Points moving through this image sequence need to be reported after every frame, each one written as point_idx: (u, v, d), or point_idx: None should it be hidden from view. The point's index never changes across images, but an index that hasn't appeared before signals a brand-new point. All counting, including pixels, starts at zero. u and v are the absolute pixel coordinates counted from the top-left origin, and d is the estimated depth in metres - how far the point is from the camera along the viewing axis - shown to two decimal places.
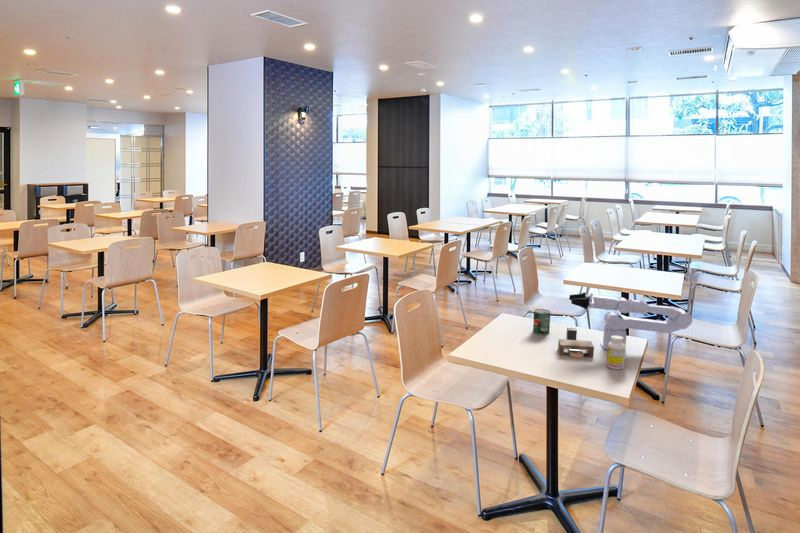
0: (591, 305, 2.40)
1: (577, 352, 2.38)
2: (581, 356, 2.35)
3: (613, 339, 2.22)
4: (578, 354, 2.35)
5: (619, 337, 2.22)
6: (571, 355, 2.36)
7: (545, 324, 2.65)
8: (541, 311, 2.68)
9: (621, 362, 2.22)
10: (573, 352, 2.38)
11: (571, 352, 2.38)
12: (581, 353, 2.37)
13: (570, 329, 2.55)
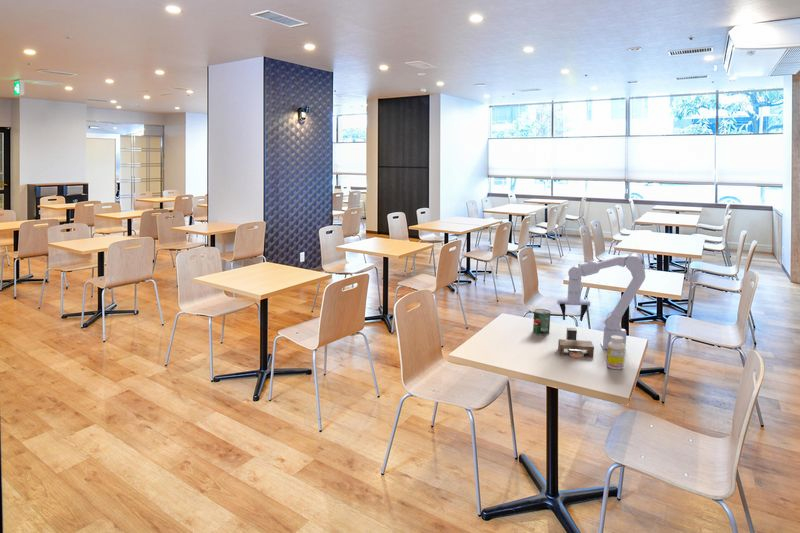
0: (557, 302, 2.54)
1: (577, 352, 2.38)
2: (581, 356, 2.35)
3: (613, 339, 2.22)
4: (578, 354, 2.35)
5: (619, 337, 2.22)
6: (571, 355, 2.36)
7: (545, 324, 2.65)
8: (541, 311, 2.68)
9: (621, 362, 2.22)
10: (573, 352, 2.38)
11: (571, 352, 2.38)
12: (581, 353, 2.37)
13: (570, 329, 2.55)
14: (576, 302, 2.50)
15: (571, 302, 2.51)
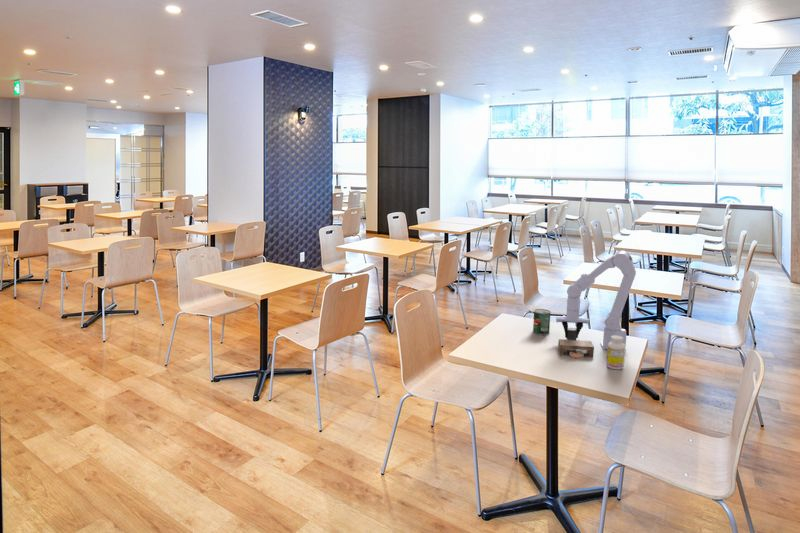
0: (556, 319, 2.56)
1: (577, 352, 2.38)
2: (581, 356, 2.35)
3: (613, 339, 2.22)
4: (578, 354, 2.35)
5: (619, 337, 2.22)
6: (571, 355, 2.36)
7: (545, 324, 2.65)
8: (541, 311, 2.68)
9: (621, 362, 2.22)
10: (573, 352, 2.38)
11: (571, 352, 2.38)
12: (581, 353, 2.37)
13: (570, 329, 2.55)
14: (575, 320, 2.52)
15: (570, 320, 2.52)
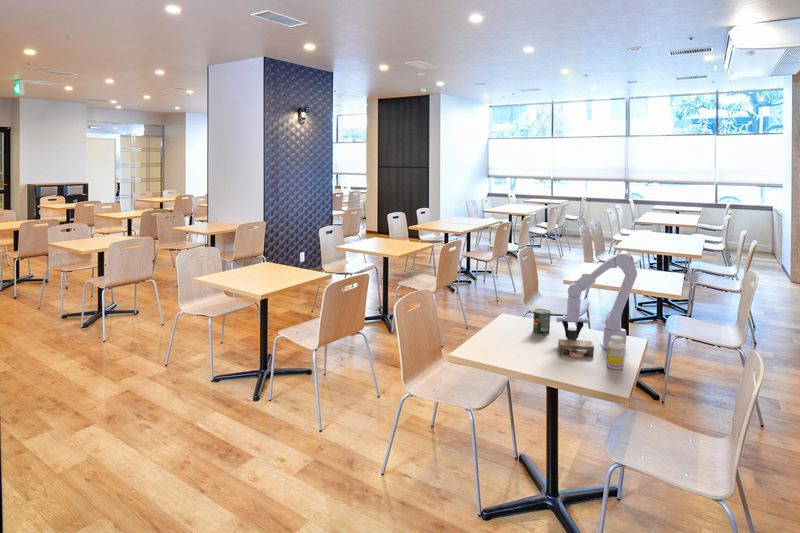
0: (556, 319, 2.55)
1: (577, 352, 2.38)
2: (581, 356, 2.35)
3: (613, 339, 2.22)
4: (578, 354, 2.35)
5: (619, 337, 2.22)
6: (571, 355, 2.36)
7: (545, 324, 2.65)
8: (541, 311, 2.68)
9: (621, 362, 2.22)
10: (573, 352, 2.38)
11: (571, 352, 2.38)
12: (581, 353, 2.37)
13: (570, 329, 2.54)
14: (575, 320, 2.50)
15: (570, 319, 2.51)
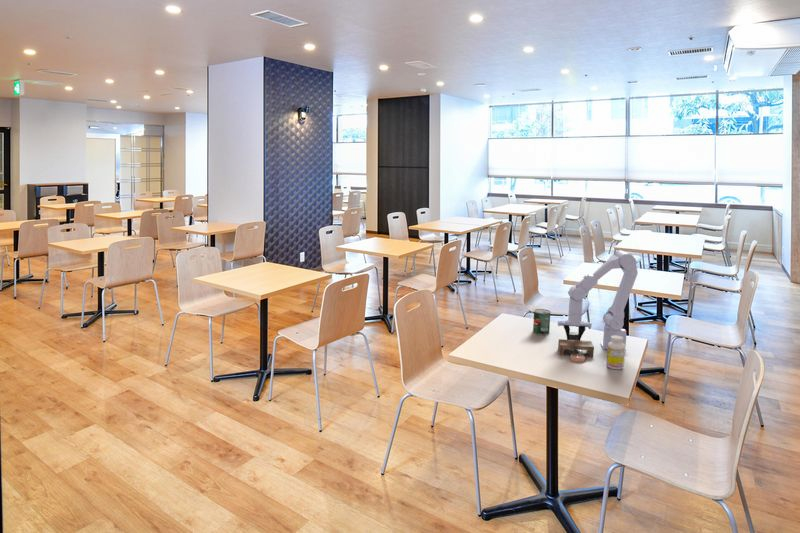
0: None
1: (578, 356, 2.33)
2: (582, 360, 2.30)
3: (613, 339, 2.22)
4: (579, 358, 2.31)
5: (619, 337, 2.22)
6: (572, 359, 2.32)
7: (545, 324, 2.65)
8: (541, 311, 2.68)
9: (621, 362, 2.22)
10: (574, 356, 2.34)
11: (572, 356, 2.33)
12: (582, 357, 2.32)
13: (572, 333, 2.49)
14: (577, 324, 2.44)
15: (572, 323, 2.45)
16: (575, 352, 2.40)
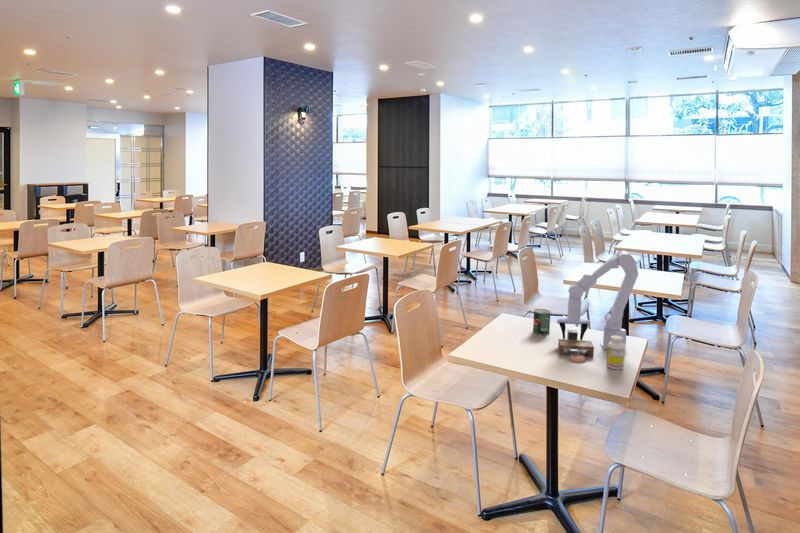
0: (557, 321, 2.52)
1: (578, 356, 2.33)
2: (582, 360, 2.30)
3: (613, 339, 2.22)
4: (579, 358, 2.31)
5: (619, 337, 2.22)
6: (572, 359, 2.32)
7: (545, 324, 2.65)
8: (541, 311, 2.68)
9: (621, 362, 2.22)
10: (574, 356, 2.34)
11: (572, 356, 2.33)
12: (582, 357, 2.32)
13: (571, 331, 2.52)
14: (576, 322, 2.48)
15: (571, 321, 2.48)
16: (574, 350, 2.43)
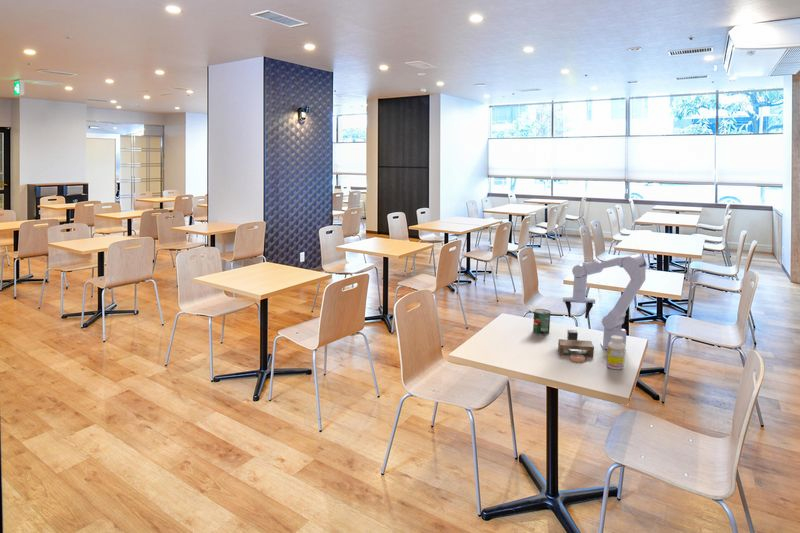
0: None
1: (578, 356, 2.33)
2: (582, 360, 2.30)
3: (613, 339, 2.22)
4: (579, 358, 2.31)
5: (619, 337, 2.22)
6: (572, 359, 2.32)
7: (545, 324, 2.65)
8: (541, 311, 2.68)
9: (621, 362, 2.22)
10: (574, 356, 2.34)
11: (572, 356, 2.33)
12: (582, 357, 2.32)
13: (571, 331, 2.52)
14: (581, 300, 2.54)
15: (576, 300, 2.55)
16: (574, 350, 2.43)
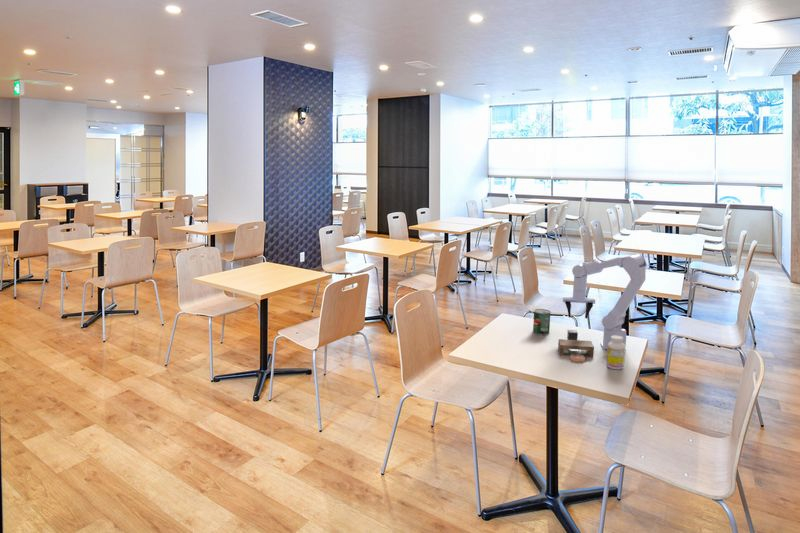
0: None
1: (578, 356, 2.33)
2: (582, 360, 2.30)
3: (613, 339, 2.22)
4: (579, 358, 2.31)
5: (619, 337, 2.22)
6: (572, 359, 2.32)
7: (545, 324, 2.65)
8: (541, 311, 2.68)
9: (621, 362, 2.22)
10: (574, 356, 2.34)
11: (572, 356, 2.33)
12: (582, 357, 2.32)
13: (571, 331, 2.52)
14: (581, 300, 2.54)
15: (576, 300, 2.55)
16: (574, 350, 2.43)
